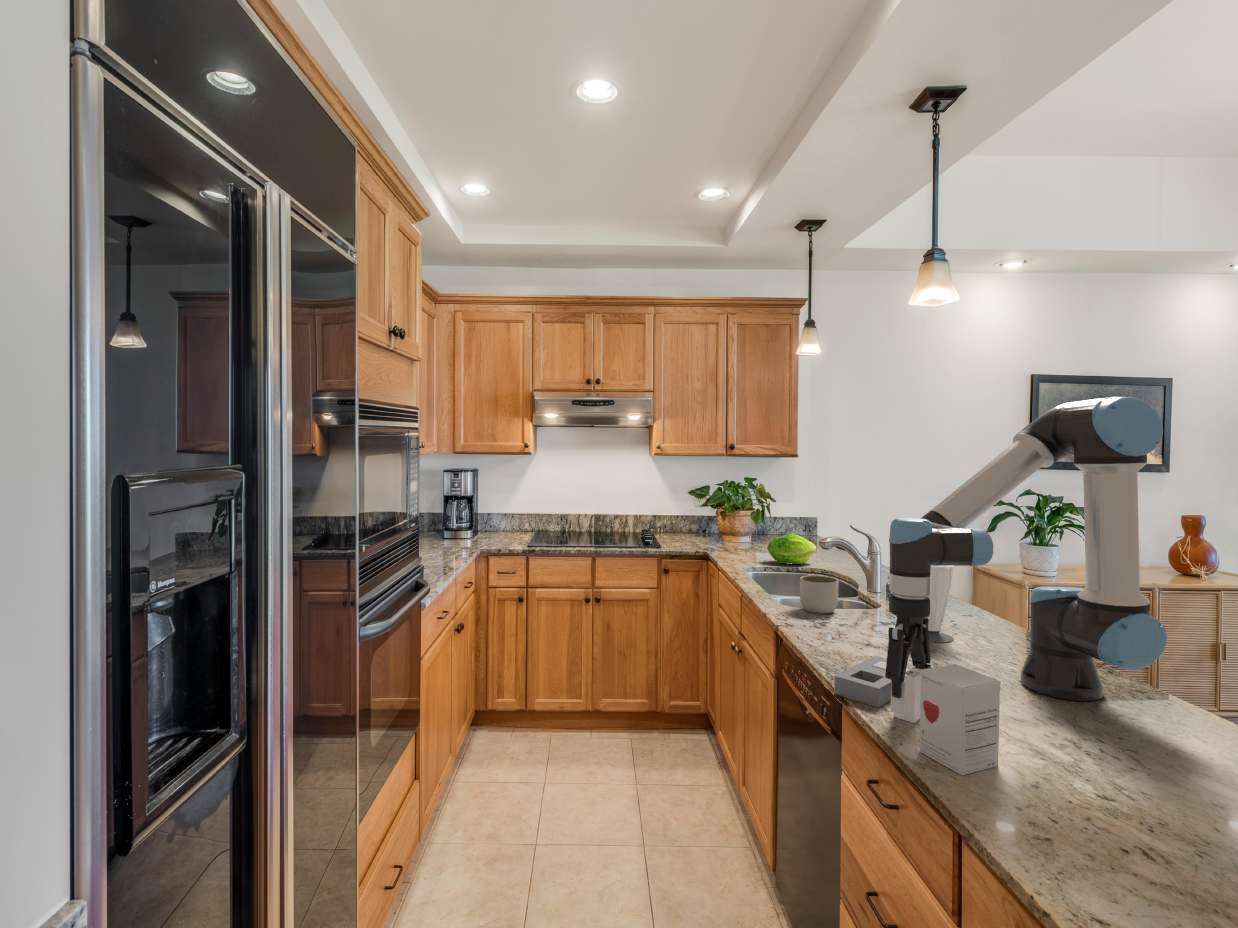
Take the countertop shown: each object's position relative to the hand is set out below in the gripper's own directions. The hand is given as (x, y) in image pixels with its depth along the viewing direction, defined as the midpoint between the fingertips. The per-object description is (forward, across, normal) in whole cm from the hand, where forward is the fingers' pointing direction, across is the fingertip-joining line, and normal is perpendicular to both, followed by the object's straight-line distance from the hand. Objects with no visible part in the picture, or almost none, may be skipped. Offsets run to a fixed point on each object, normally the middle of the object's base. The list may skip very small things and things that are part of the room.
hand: (908, 705), depth 124 cm
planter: (+2, -62, -55) cm, 83 cm away
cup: (+2, -60, -18) cm, 63 cm away
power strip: (+2, -10, -11) cm, 15 cm away
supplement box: (+2, +11, +13) cm, 17 cm away
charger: (+2, 0, 0) cm, 2 cm away
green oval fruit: (+2, -132, -109) cm, 171 cm away
